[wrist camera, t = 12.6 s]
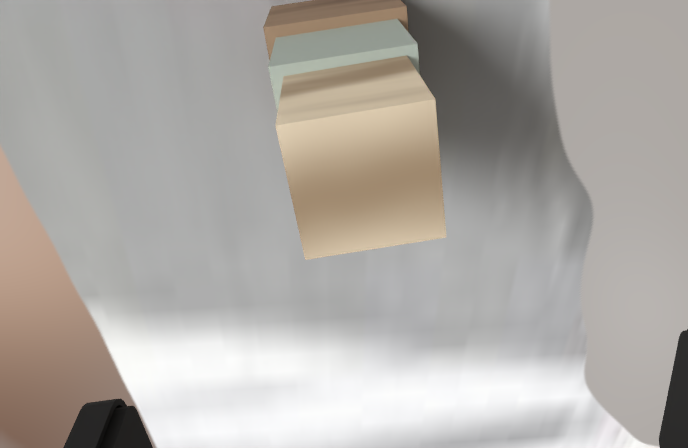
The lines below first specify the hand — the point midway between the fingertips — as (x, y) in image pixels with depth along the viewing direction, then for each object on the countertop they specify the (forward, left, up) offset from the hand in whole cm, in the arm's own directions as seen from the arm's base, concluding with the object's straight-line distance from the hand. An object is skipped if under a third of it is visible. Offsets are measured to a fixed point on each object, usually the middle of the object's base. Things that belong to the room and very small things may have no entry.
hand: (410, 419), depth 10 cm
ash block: (0, 0, -16) cm, 16 cm away
